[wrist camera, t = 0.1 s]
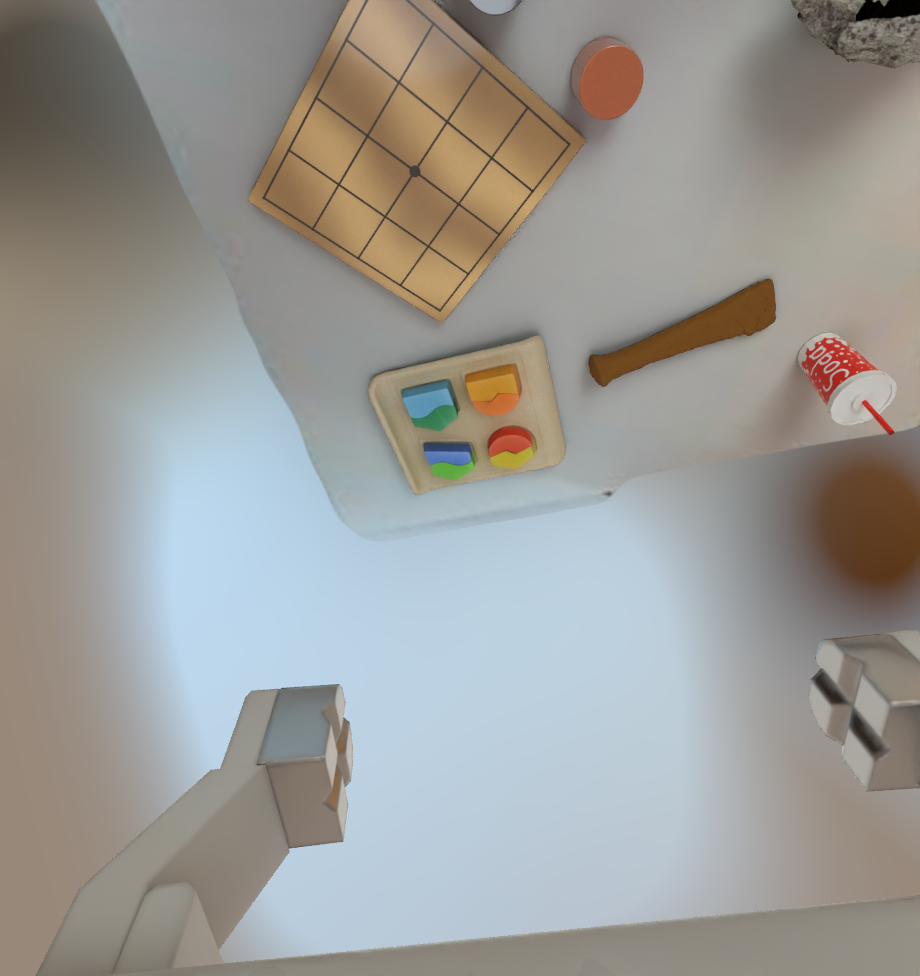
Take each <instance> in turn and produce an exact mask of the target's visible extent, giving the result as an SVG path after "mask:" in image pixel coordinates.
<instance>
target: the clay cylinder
mask: <svg viewBox="0 0 920 976" xmlns="http://www.w3.org/2000/svg"><path fill="white" fill-rule="evenodd" d="M642 85H643V67H642V64H641V61H640V59H639V57H638V56H637V55H636V53H635V52H634V51H633V50H631V49H630V48H629V47H627V46H626V45H625V44H623V43H622V42H621V41H619V40H617V39H615V38H611V37H603V38H599V39H596V40H594V41H592V42H590V43H589V44H588V45H586V46H585V47H584V48H583V49H582V50H581V52H580V53H579V55H578V56H577V58H576V60H575V62H574V65H573V68H572V73H571V86H572V90H573V93H574V95H575V97H576V99H577V100H578V101H579V103H580V104H581V105H582V106H583V108H584V109H585V110H586V111H587V112H588V113H589V114H590V115H591V116H593V117H594V118H597V119H601V120H610V119H614V118H617V117H619V116H621V115H623V114H624V113H625V112H627V111H628V110H629V109H630V108H631V107H632V106H633V104H634V103H635V102H636V100H637V98H638V96H639V94H640V92H641V89H642Z"/></svg>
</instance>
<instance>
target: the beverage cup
mask: <svg viewBox="0 0 920 976" xmlns="http://www.w3.org/2000/svg"><path fill="white" fill-rule="evenodd" d="M798 362H799V365H800V366H801V368H802V369H803V371H804V372H805V374H806V375H807V377H808V378H809V380H810V381H811V383H812V384H813V386H814V387H815V389H816V390H817V392H818V393H819V395H820V396H821V398H822V399H823V401H824V402H825V404H826V405H827V408H828V412H829V414H830V415H831V417H832V418H833V419H834V420H835V421H836V422H837V423H839V424H844V425H854V424H860V423H863V422H865V421H868V420H870V419H872V418H875V419H876V420H877V421H878V422H879V423H880V425H881V426H882V427H883V428H884V429H885V430H886V431H887V433H888V434H889V435H892V434H894V431H893V429H892V428H891V427H890V426H889V425H888V424H887V423H886V422H885V420H884V419H883V418H882V417H881V416H880V415H879V414H880V413H881V412H882V411H884V410H885V409H886V407H887V406H888V405H889V404H890V403H891V402H892V400H893V398H894V396H895V393H896V383H895V382H894V380H893V379H892V378H891V377H890V376H889V375H887V374H886V373H885V372H882V371H879V370H877V369H876V368H875V367H874V366H873V365H872V364H870V363H869V362H868V361H867V360H866V359H865V358H864V357H862V356H861V355H860V354H859V353H858V352H857V351H855V350H854V349H853V348H852V347H851V346H850V345H849V344H847V343H846V342H845V341H844V340H843V339H842V338H840V337H839V336H838V335H837V334H834V333H823V334H819V335H817V336H815V337H813V338H811V339H810V340H809V341H808V342H806V343H805V344H804V346H803V347H802V348H801V350H800V351H799V355H798Z"/></svg>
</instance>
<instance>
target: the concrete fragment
mask: <svg viewBox="0 0 920 976" xmlns="http://www.w3.org/2000/svg"><path fill="white" fill-rule="evenodd" d="M791 2H792V5H793V7H794V8H795V9H797V10H798V11H799V13H798V18H799V19H801V21H802V22H803V24H804V25H805V26H806V27H807V28H808V30H809V32H810V33H811V35H812V36H813V37H815V38H818V39H821V40H822V41H823V43H825V45H827V47H829V49H832V50H834V52H835V54H837V55H840V56H842V58H843V57H845V58H846V60H847V61H848V62H849V59H850V60H851V61H852V62H857V61H864V62H869V63H873V64H877V65H881V66H886V67H890V68H896V67H899V66H901V65H903V64H906V63H910V62H919V61H920V0H791Z"/></svg>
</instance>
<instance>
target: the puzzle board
mask: <svg viewBox="0 0 920 976" xmlns="http://www.w3.org/2000/svg"><path fill="white" fill-rule="evenodd" d="M368 394H369V398H370V400H371V403H372V405H373V407H374V409H375V411H376V413H377V416H378V418H379V420H380V422H381V424H382V426H383V428H384V431H385V433H386V435H387V437H388V439H389V441H390V444H391V446H392V448H393V450H394V452H395V454H396V457H397V459H398V461H399V463H400V465H401V467H402V470H403V472H404V474H405V476H406V478H407V480H408V483H409V485H410V487H411V489H412V491H413V492H414V493H415V494H417V495H419V494H423V493H425V492H427V491H429V490H432V489H436V488H441V487H447V486H452V485H457V484H462V483H468V482H473V481H478V480H484V479H489V478H494V477H500V476H505V475H510V474H516V473H521V472H526V471H531V470H536V469H542V468H547V467H552V466H555V465H557V464H559V463H560V462H561V461H562V460H563V458H564V456H565V453H566V446H565V440H564V435H563V431H562V426H561V421H560V416H559V412H558V407H557V402H556V397H555V392H554V388H553V383H552V378H551V373H550V369H549V364H548V359H547V355H546V350H545V346H544V342H543V339H542V338H541V337H540V336H533V337H530V338H528V339H526V340H523V341H519V342H515V343H511V344H506V345H502V346H498V347H493V348H489V349H485V350H480V351H476V352H472V353H467V354H463V355H459V356H454V357H450V358H445V359H441V360H437V361H432V362H428V363H424V364H419V365H415V366H410V367H406V368H402V369H397V370H393V371H388V372H384V373H381V374H379V375H377V376H375V377H374V378H373V379H372V380H371V381H370V383H369V387H368Z"/></svg>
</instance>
